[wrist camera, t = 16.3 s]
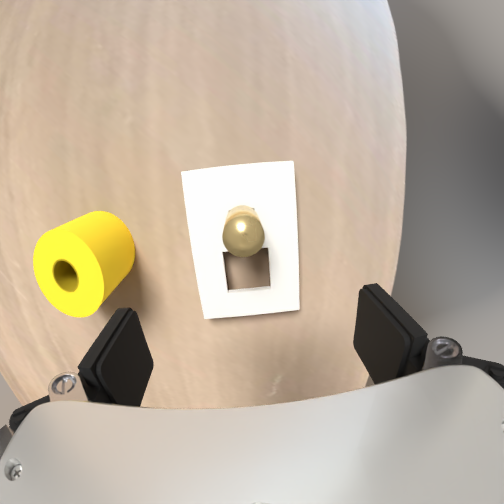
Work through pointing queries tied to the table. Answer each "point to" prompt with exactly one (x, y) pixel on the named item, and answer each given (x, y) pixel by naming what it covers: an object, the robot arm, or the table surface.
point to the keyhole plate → (274, 225)
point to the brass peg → (243, 231)
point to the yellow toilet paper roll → (83, 262)
